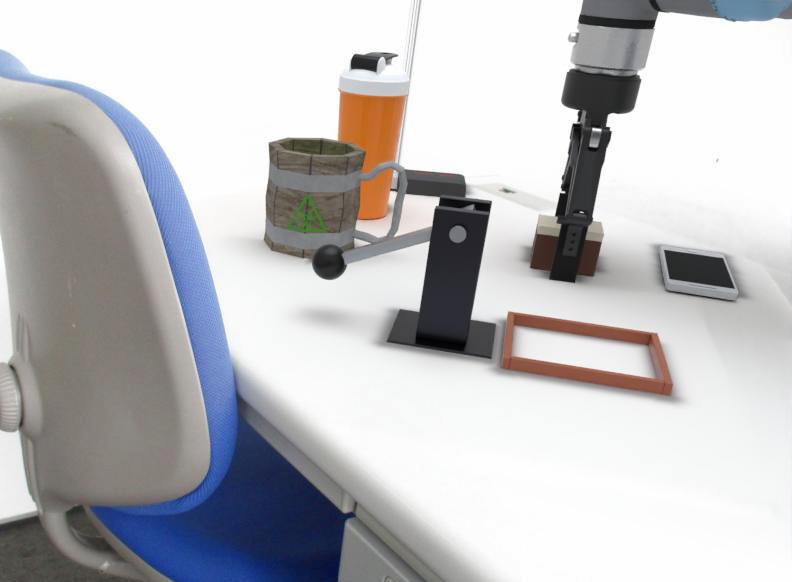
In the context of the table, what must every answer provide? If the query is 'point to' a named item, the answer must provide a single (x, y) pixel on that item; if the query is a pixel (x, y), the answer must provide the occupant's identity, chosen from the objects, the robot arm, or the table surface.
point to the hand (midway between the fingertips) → (560, 264)
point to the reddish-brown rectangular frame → (580, 373)
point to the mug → (319, 195)
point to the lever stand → (450, 284)
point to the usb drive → (432, 183)
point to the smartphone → (697, 273)
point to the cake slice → (548, 240)
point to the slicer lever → (364, 252)
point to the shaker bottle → (373, 121)
